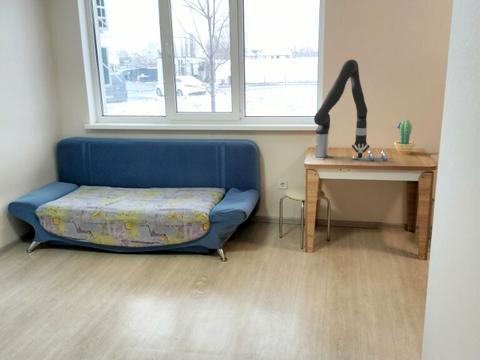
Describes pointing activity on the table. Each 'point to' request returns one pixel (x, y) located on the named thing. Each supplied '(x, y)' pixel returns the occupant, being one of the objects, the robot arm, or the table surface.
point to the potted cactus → (404, 138)
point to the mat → (366, 159)
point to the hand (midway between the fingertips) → (360, 157)
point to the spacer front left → (372, 156)
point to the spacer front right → (385, 157)
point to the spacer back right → (382, 154)
